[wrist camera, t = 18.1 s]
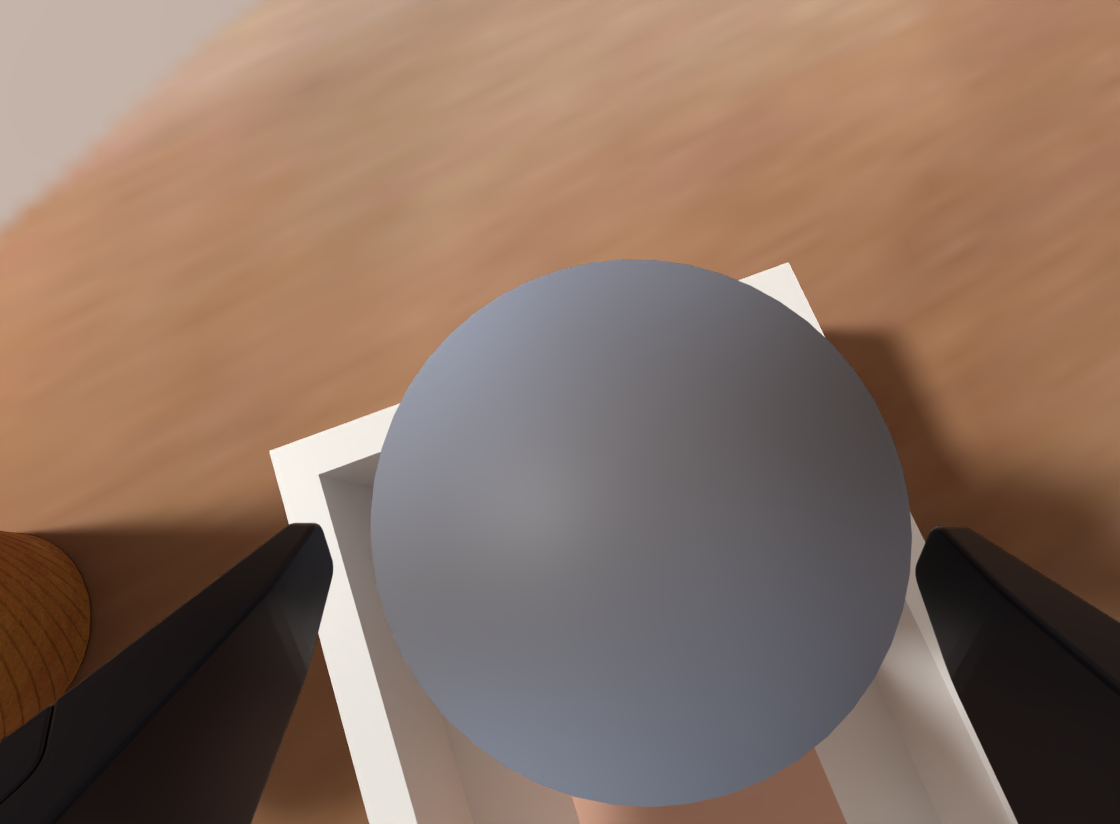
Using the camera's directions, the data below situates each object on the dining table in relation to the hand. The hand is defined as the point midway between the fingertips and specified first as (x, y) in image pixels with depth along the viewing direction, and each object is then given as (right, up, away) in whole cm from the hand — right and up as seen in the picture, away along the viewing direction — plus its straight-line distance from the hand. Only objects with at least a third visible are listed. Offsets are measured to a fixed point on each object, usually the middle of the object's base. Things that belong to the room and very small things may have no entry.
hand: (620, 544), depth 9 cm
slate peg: (0, -2, +9) cm, 9 cm away
